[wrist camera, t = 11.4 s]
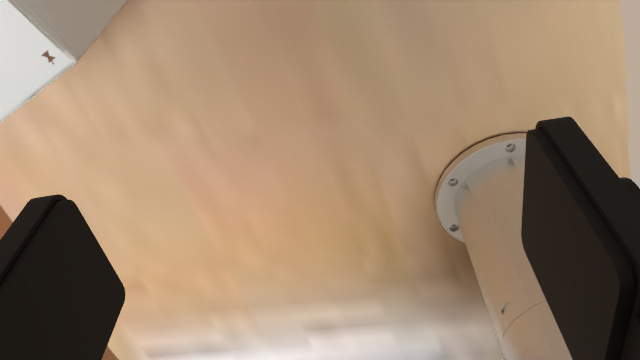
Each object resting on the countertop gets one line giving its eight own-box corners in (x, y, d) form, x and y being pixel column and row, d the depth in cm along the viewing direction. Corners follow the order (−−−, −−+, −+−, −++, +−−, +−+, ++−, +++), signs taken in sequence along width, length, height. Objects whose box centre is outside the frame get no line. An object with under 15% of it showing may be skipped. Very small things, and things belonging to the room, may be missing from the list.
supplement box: (56, -117, 32) (-57, -69, 22) (144, -15, 36) (81, 66, 26) (-19, -46, 35) (-151, 26, 25) (71, 42, 38) (-12, 136, 28)
